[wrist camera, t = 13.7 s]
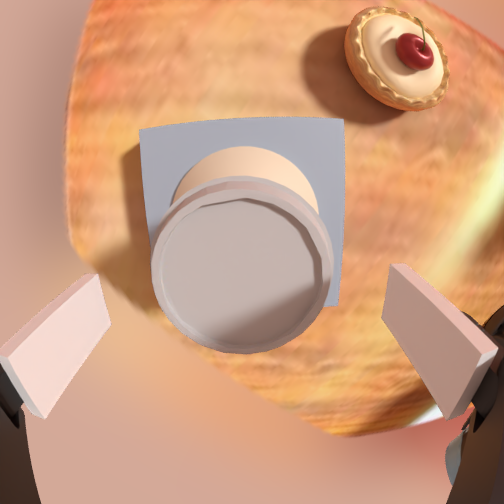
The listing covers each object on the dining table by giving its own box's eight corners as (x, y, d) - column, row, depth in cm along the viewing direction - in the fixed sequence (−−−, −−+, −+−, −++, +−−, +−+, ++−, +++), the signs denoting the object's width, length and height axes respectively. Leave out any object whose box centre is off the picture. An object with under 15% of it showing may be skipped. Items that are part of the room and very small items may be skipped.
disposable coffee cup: (227, 290, 26) (213, 381, 15) (171, 204, 24) (106, 247, 12) (318, 242, 25) (367, 310, 14) (266, 146, 22) (280, 136, 11)
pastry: (348, 114, 26) (381, 102, 17) (326, 18, 22) (346, -20, 13) (438, 115, 24) (486, 111, 16) (417, 27, 20) (455, 3, 12)
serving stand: (328, 288, 31) (338, 307, 27) (171, 293, 32) (161, 313, 27) (331, 123, 25) (345, 118, 21) (153, 132, 26) (137, 129, 22)
